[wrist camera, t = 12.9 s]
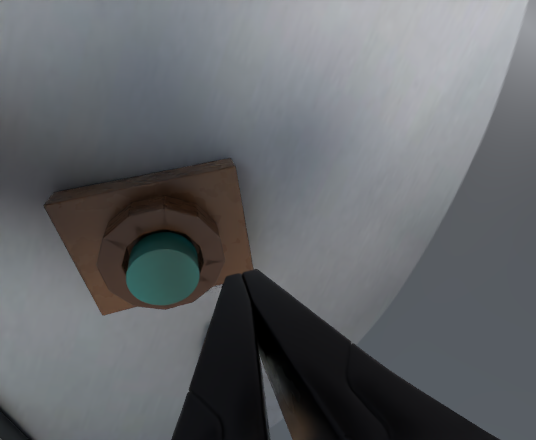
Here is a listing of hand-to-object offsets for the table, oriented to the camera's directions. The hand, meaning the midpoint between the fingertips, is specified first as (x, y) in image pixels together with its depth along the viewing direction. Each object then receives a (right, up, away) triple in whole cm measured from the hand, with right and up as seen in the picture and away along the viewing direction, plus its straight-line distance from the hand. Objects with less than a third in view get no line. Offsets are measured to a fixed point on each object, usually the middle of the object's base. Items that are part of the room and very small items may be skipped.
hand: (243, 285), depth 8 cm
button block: (-6, +1, +12) cm, 13 cm away
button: (-5, -1, +9) cm, 11 cm away
